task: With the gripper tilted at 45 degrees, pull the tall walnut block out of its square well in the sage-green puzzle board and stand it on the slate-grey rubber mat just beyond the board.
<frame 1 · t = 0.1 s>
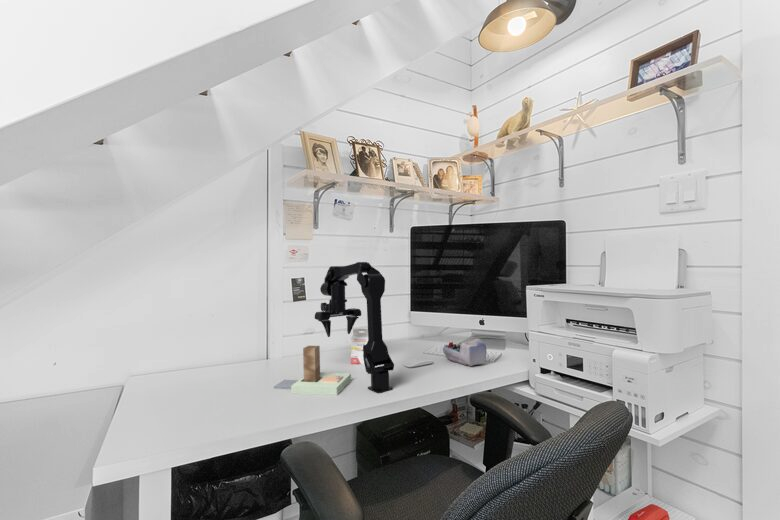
hand: (338, 335, 153), 15 cm above the table, tool pointing down, fingers open, 9 cm apart
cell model: (465, 362, 164), on the table
ink cartridge box: (361, 363, 166), on the table
walnut block: (312, 386, 135), resting in puzzle board
grey mat: (289, 385, 137), on the table
puzzle board: (312, 386, 135), on the table
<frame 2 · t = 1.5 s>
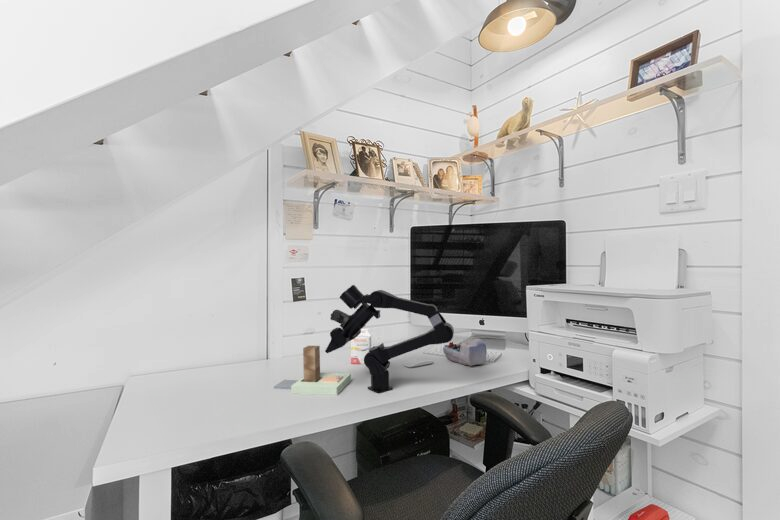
hand: (330, 349, 134), 13 cm above the table, tool tilted 45°, fingers open, 9 cm apart
nothing on the table moved.
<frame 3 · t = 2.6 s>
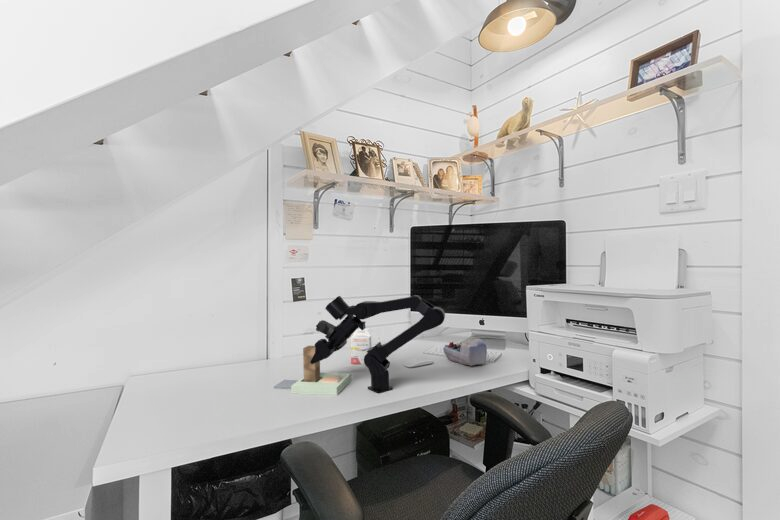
hand: (316, 359, 135), 9 cm above the table, tool tilted 45°, fingers open, 9 cm apart
nothing on the table moved.
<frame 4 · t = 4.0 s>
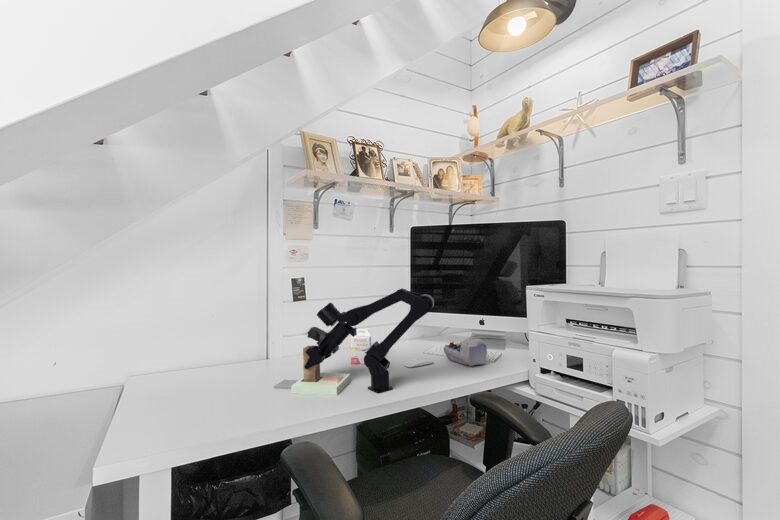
hand: (308, 366, 135), 7 cm above the table, tool tilted 45°, fingers closed on walnut block, 4 cm apart
walnut block: (312, 386, 135), resting in puzzle board, touching gripper
everything else where it was.
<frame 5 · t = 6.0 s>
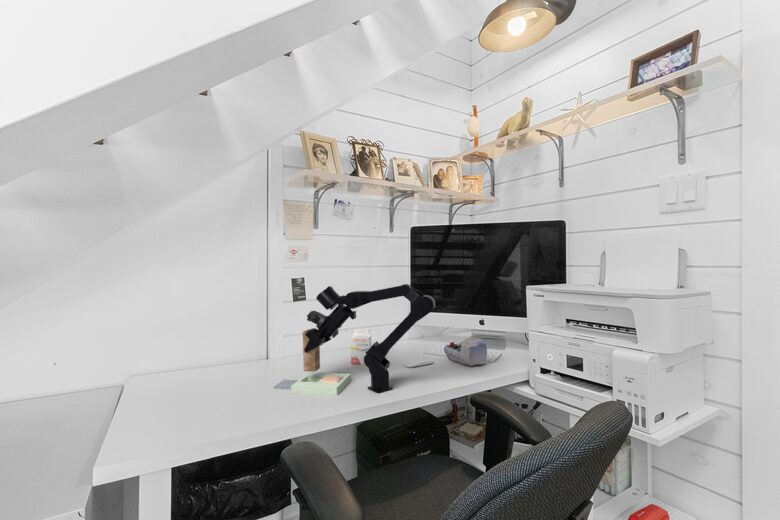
hand: (307, 349, 135), 13 cm above the table, tool tilted 45°, fingers closed on walnut block, 4 cm apart
walnut block: (311, 369, 135), point 6 cm above the table, touching gripper
everything else where it was.
when the fingers open (9 cm above the table, at t = 8.2 s): walnut block stays where it is, resting on grey mat.
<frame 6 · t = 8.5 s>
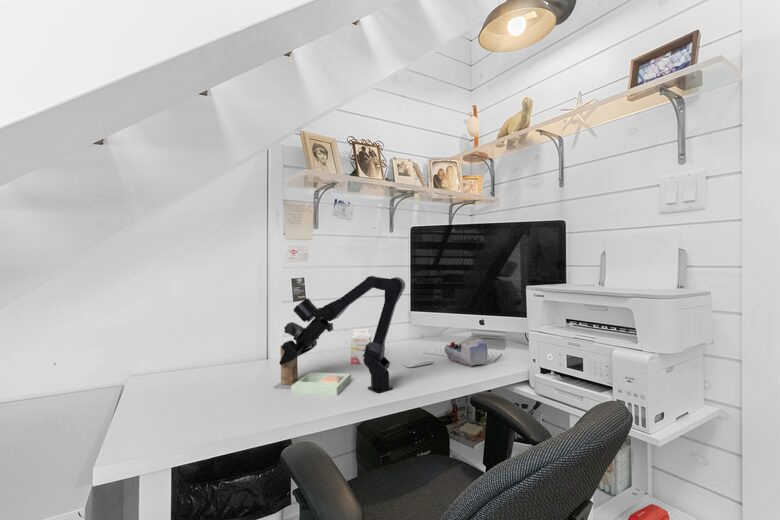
hand: (285, 361, 137), 9 cm above the table, tool tilted 45°, fingers open, 8 cm apart
walnut block: (289, 383, 137), point 1 cm above the table, touching grey mat
everything else where it was.
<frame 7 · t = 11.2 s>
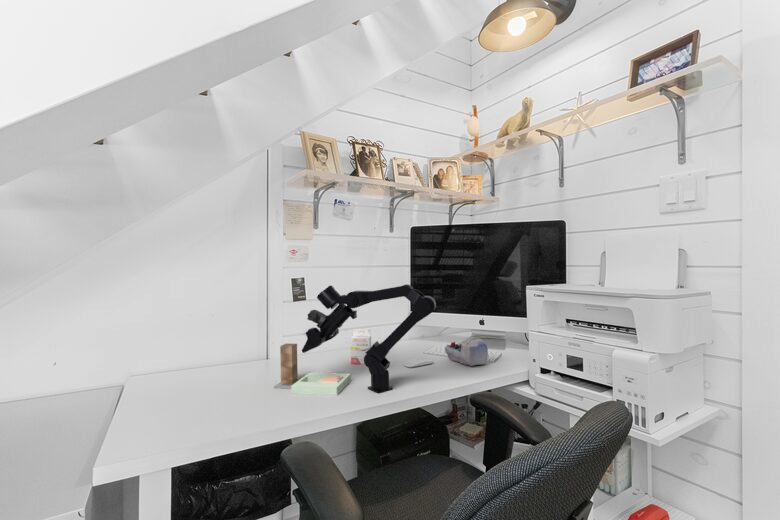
hand: (308, 348, 135), 13 cm above the table, tool tilted 45°, fingers open, 9 cm apart
nothing on the table moved.
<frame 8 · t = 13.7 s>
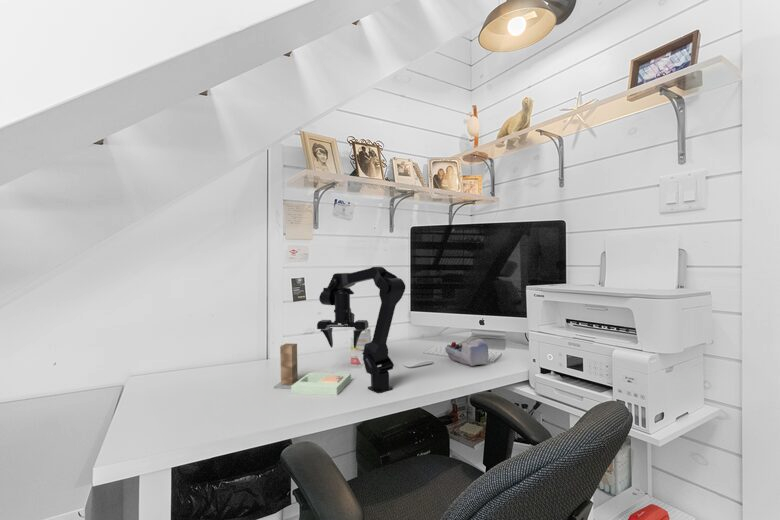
hand: (343, 347, 142), 12 cm above the table, tool pointing down, fingers open, 9 cm apart
at the end: walnut block 0.0 cm off-centre on the grey mat, point 0.6 cm above the grey mat's base; walnut block tilted 0°; the gripper is holding nothing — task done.
